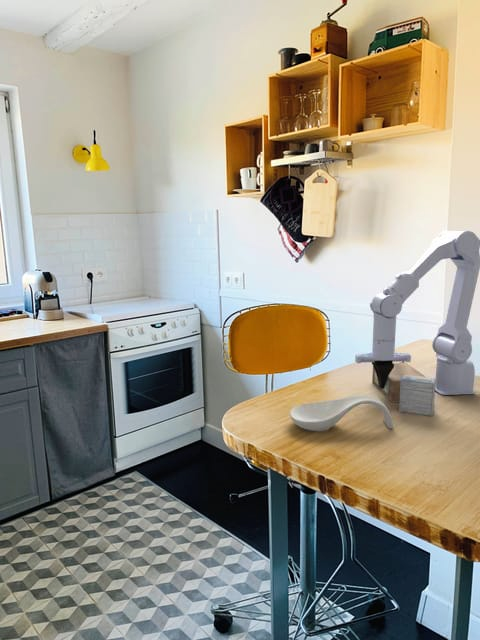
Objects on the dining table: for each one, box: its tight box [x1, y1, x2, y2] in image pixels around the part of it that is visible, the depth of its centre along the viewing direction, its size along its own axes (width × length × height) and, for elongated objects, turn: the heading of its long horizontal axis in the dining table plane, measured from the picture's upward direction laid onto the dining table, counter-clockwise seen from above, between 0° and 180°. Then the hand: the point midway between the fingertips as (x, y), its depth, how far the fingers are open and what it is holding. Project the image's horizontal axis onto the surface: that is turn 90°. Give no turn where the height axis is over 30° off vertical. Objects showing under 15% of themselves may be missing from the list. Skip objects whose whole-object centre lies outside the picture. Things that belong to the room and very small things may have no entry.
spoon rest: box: [289, 394, 394, 432], centre depth 115 cm, size 24×12×7 cm, turn 90°
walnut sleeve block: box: [371, 362, 426, 403], centre depth 138 cm, size 10×16×6 cm, turn 3°
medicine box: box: [398, 375, 436, 417], centre depth 123 cm, size 8×4×9 cm, turn 65°
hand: (381, 387), depth 134 cm, fingers closed
